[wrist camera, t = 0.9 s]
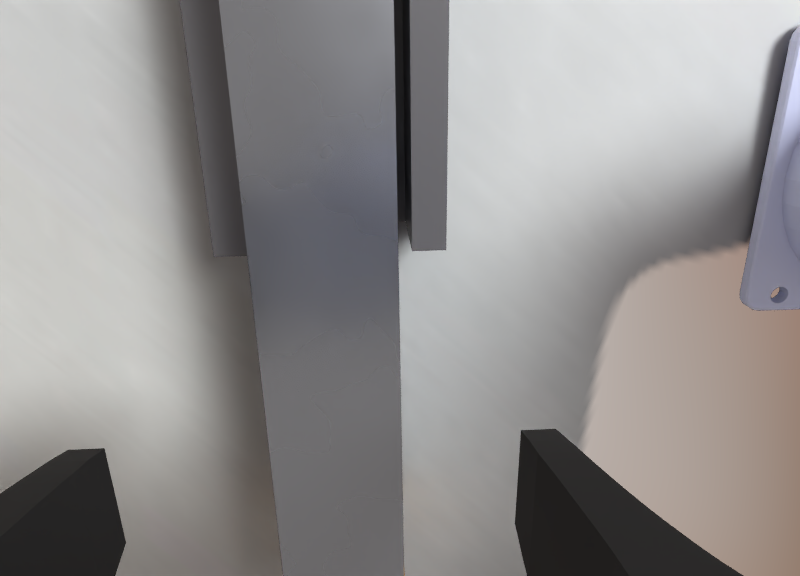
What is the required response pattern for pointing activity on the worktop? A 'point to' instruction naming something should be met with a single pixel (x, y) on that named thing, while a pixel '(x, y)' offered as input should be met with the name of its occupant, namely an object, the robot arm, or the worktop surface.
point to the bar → (323, 270)
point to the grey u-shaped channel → (415, 121)
